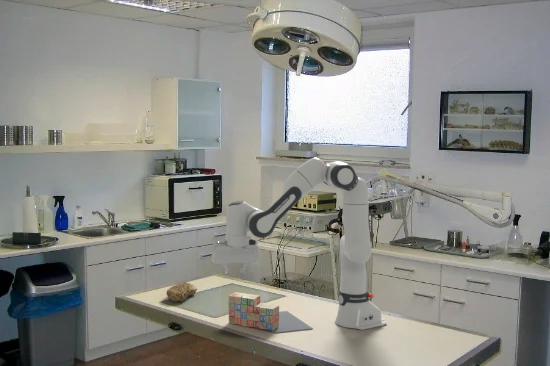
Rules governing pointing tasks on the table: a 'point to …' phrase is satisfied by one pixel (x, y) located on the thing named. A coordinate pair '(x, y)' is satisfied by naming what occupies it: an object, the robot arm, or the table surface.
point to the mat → (290, 323)
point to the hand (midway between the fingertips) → (235, 273)
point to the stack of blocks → (252, 312)
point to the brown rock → (181, 291)
